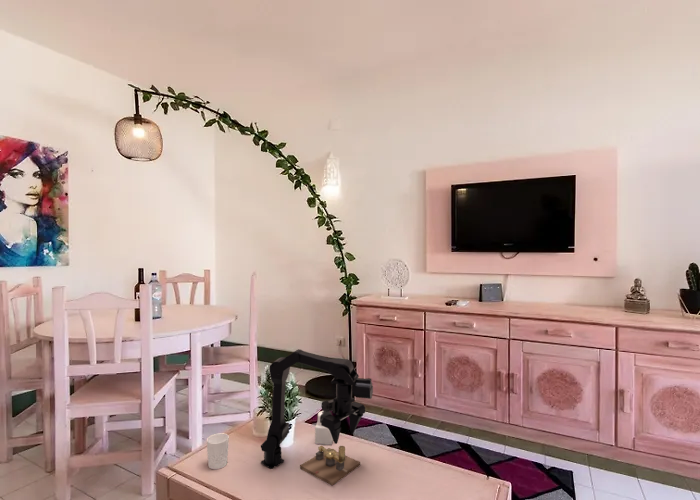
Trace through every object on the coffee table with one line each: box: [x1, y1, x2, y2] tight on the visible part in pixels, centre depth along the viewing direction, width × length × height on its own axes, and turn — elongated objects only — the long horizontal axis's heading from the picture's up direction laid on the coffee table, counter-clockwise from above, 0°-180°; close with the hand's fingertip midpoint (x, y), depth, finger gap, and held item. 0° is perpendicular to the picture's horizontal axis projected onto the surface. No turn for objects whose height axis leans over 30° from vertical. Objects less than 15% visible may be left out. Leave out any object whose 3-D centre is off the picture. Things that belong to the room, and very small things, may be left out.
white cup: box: [206, 432, 230, 470], centre depth 143 cm, size 8×8×10 cm
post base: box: [299, 447, 361, 487], centre depth 141 cm, size 16×16×4 cm
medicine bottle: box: [314, 410, 334, 446], centre depth 161 cm, size 7×7×12 cm
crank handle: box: [317, 445, 346, 463], centre depth 141 cm, size 4×14×6 cm, turn 42°
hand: (343, 438), depth 137 cm, fingers open, 9 cm apart
